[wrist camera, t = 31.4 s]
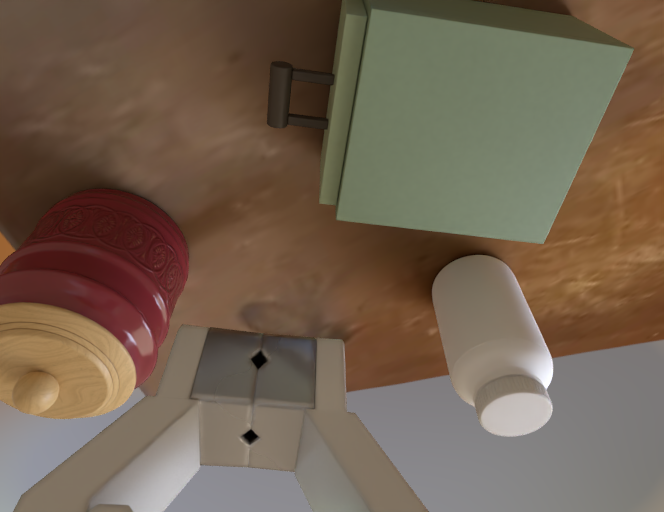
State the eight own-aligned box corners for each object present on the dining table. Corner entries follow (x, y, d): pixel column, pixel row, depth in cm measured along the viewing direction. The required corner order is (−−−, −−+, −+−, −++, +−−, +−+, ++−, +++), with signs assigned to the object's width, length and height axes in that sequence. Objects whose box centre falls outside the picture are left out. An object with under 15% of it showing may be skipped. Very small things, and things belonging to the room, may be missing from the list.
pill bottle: (430, 255, 47) (465, 384, 35) (518, 248, 46) (585, 377, 34) (428, 318, 51) (458, 451, 39) (508, 313, 51) (563, 445, 39)
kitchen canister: (73, 303, 50) (-30, 469, 36) (21, 186, 42) (-136, 338, 28) (204, 299, 50) (153, 465, 35) (176, 182, 42) (97, 332, 28)
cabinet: (334, 163, 41) (335, 220, 34) (362, -17, 34) (371, 8, 26) (507, 185, 42) (543, 244, 35) (573, 16, 35) (635, 48, 28)
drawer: (268, 153, 40) (258, 196, 34) (280, -18, 33) (270, 2, 27) (485, 180, 41) (509, 226, 36) (541, 23, 34) (582, 49, 29)
